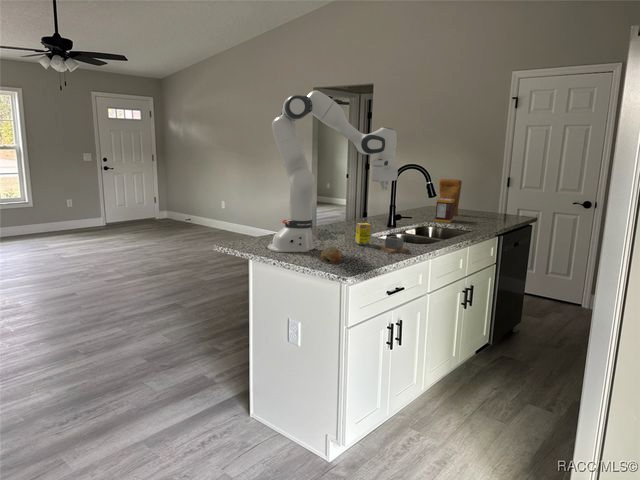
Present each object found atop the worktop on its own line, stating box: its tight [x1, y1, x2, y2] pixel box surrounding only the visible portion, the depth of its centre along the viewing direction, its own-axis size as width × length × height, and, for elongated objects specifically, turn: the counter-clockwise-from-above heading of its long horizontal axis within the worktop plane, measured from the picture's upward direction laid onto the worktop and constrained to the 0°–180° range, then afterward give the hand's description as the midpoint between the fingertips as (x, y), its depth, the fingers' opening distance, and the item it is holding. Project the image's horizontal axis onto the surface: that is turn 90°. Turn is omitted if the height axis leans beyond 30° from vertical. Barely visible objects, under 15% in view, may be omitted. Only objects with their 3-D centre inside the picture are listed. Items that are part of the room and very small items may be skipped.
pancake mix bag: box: [437, 178, 463, 217], centre depth 361 cm, size 7×19×28 cm, turn 44°
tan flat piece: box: [378, 245, 410, 254], centre depth 229 cm, size 11×11×4 cm
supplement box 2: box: [434, 198, 455, 223], centre depth 331 cm, size 10×15×16 cm
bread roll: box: [320, 246, 344, 265], centre depth 203 cm, size 10×10×8 cm
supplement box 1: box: [355, 222, 372, 246], centre depth 239 cm, size 6×6×11 cm
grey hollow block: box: [384, 235, 404, 250], centre depth 228 cm, size 6×6×5 cm
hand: (384, 190), depth 227 cm, fingers closed
